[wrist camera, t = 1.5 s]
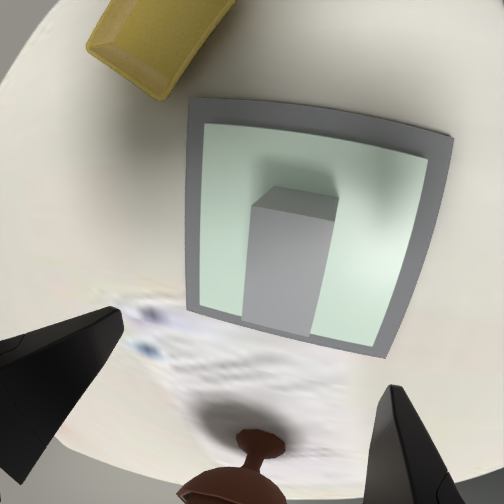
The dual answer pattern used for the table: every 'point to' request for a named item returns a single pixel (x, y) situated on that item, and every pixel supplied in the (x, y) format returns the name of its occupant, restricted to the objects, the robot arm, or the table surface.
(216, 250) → the cover
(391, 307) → the mat
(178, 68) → the saucer
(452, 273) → the table surface
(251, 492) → the ice cream bowl
